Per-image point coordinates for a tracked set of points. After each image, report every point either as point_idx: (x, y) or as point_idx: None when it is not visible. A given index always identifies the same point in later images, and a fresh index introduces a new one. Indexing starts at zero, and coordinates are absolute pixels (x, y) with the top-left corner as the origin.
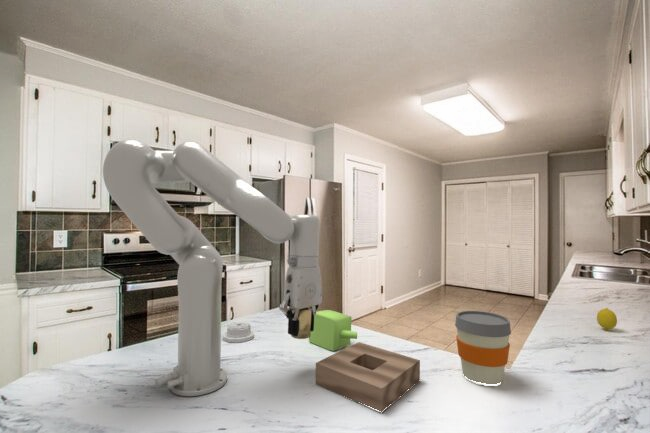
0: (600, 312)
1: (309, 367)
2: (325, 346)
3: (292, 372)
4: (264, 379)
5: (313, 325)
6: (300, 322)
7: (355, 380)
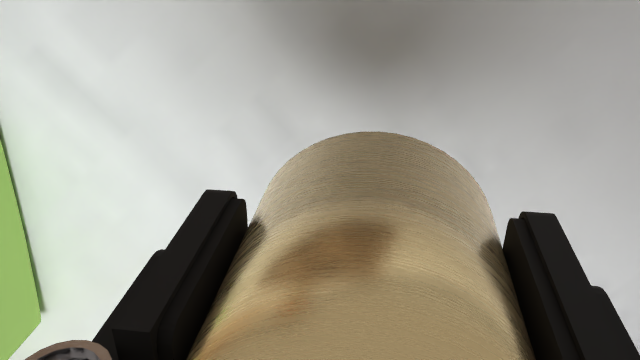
0: None
1: (293, 86)
2: (5, 193)
3: (425, 125)
4: (607, 192)
5: (193, 224)
6: (515, 331)
7: None
